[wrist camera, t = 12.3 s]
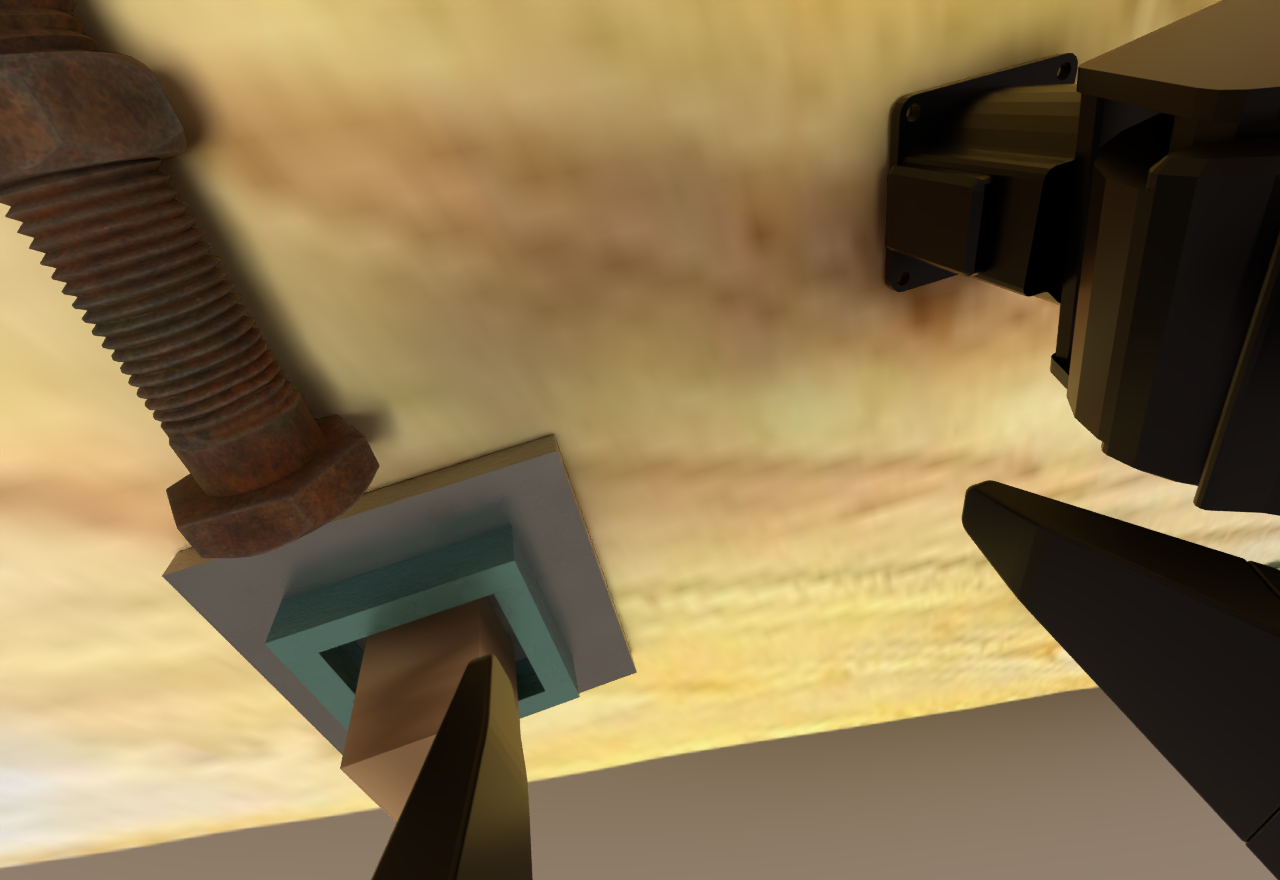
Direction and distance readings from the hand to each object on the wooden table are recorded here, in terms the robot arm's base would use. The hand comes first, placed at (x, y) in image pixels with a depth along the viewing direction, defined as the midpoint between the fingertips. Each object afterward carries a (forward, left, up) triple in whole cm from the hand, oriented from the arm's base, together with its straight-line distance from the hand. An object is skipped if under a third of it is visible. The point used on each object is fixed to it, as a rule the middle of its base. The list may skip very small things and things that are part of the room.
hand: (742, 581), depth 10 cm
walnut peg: (+10, +10, -11) cm, 18 cm away
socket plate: (+10, +10, -12) cm, 19 cm away
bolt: (+11, -6, -12) cm, 18 cm away
